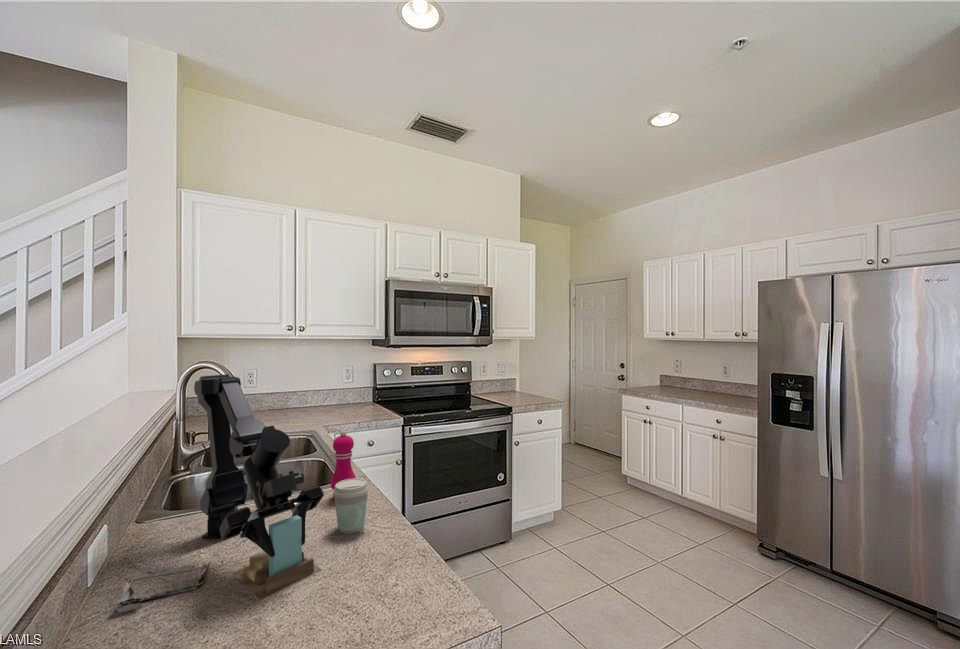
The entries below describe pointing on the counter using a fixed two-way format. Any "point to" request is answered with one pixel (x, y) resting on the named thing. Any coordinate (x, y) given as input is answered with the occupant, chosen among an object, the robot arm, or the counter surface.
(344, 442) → the pepper mill
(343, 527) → the coffee cup
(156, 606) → the counter surface
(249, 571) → the offcut stack
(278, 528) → the turquoise upright pillar
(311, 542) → the counter surface
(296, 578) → the walnut rack
